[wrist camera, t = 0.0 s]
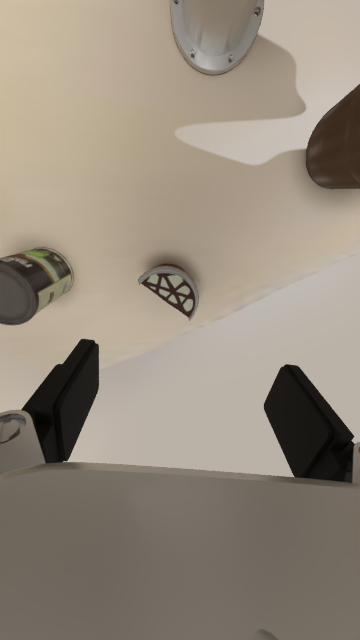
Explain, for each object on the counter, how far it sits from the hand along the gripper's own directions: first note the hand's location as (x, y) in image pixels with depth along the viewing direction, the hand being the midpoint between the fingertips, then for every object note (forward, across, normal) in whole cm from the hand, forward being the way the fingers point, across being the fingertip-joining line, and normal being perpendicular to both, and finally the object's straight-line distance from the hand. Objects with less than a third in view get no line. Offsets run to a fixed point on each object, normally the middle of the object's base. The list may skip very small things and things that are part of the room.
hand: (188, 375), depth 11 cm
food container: (+38, 0, +5) cm, 38 cm away
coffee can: (+38, +26, +8) cm, 47 cm away
